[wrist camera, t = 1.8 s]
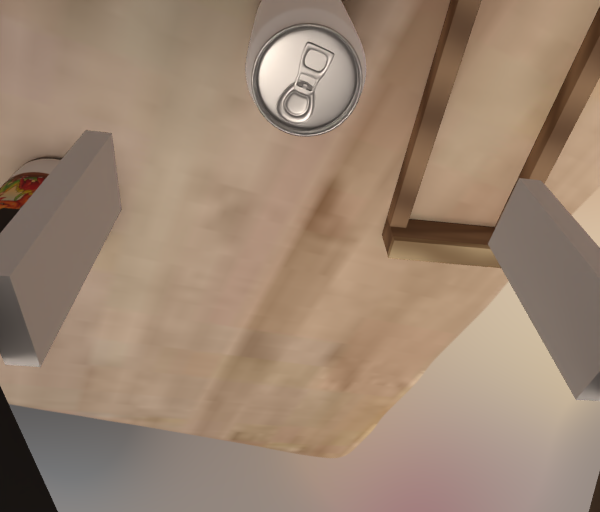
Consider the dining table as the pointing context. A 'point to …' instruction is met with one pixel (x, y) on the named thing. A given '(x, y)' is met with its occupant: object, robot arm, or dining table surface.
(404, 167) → the guide
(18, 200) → the milk bottle
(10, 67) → the dining table surface
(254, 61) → the can
